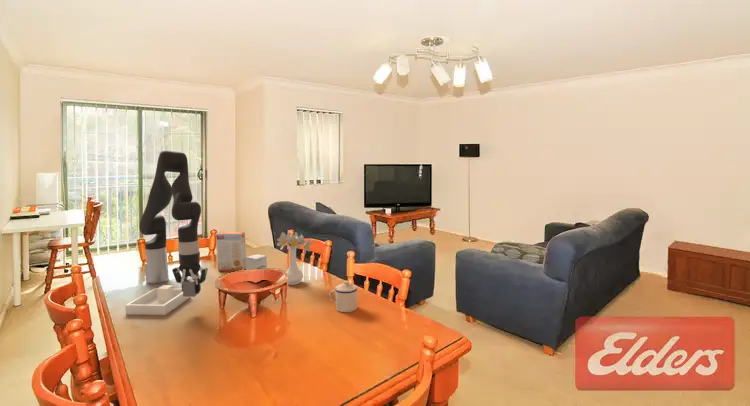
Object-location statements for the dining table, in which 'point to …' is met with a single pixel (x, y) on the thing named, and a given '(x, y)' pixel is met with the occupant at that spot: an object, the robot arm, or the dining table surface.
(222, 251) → the cracker box
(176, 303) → the tray
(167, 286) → the cream block
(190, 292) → the charcoal block
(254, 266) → the supplement box
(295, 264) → the flower vase
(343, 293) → the teacup with lid
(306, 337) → the dining table surface
